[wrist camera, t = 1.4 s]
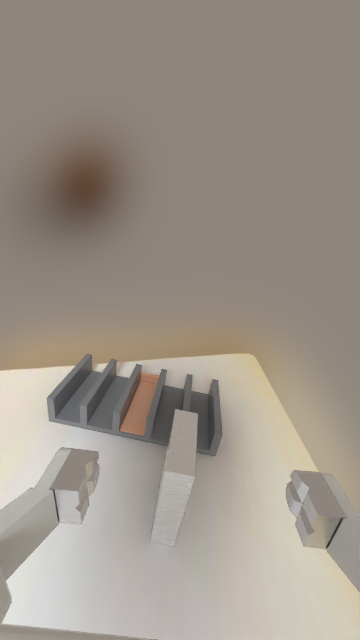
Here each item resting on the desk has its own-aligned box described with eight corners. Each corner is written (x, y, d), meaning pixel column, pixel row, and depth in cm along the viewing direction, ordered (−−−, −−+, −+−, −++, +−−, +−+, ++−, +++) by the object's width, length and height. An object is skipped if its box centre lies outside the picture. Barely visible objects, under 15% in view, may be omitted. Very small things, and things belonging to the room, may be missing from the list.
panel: (150, 541, 28) (165, 470, 22) (161, 475, 35) (175, 408, 29) (173, 546, 27) (195, 477, 22) (180, 479, 35) (197, 413, 29)
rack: (49, 421, 40) (46, 397, 38) (88, 371, 53) (88, 352, 51) (214, 455, 39) (222, 434, 37) (212, 397, 52) (217, 378, 50)
